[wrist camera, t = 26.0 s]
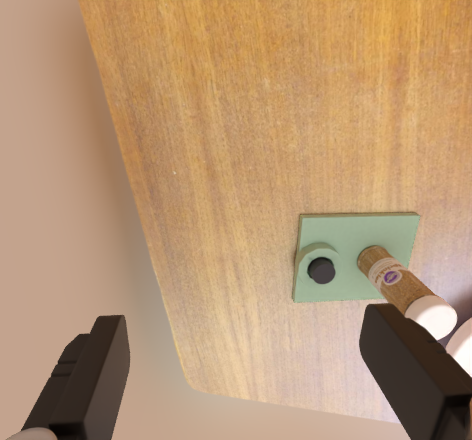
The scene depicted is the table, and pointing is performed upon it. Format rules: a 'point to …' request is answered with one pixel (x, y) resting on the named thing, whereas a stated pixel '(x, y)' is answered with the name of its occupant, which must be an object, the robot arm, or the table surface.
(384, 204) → the table surface
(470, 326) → the bowl
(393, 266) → the sprinkles bottle
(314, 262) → the button
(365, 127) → the table surface
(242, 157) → the table surface
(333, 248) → the scale
